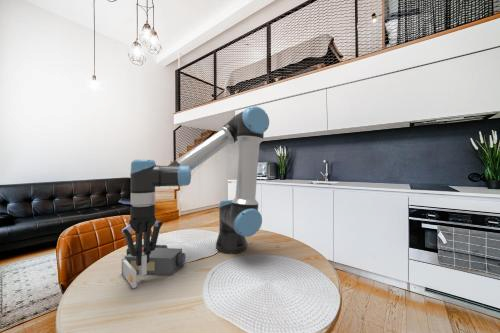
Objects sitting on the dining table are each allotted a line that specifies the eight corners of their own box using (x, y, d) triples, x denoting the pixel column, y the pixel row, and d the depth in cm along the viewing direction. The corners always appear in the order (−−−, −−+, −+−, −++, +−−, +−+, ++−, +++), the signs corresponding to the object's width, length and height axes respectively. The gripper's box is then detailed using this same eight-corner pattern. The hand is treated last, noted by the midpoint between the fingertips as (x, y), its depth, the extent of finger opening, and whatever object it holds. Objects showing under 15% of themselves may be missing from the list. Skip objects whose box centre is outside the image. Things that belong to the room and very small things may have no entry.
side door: (137, 287, 65) (137, 270, 65) (130, 289, 64) (130, 272, 64) (125, 272, 74) (125, 257, 74) (119, 274, 73) (120, 259, 73)
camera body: (187, 263, 82) (187, 246, 82) (177, 275, 73) (177, 256, 73) (139, 261, 83) (139, 245, 83) (124, 273, 74) (124, 254, 74)
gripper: (156, 201, 77) (156, 263, 77) (117, 205, 67) (117, 277, 67) (166, 203, 72) (166, 270, 72) (125, 208, 62) (125, 286, 62)
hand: (142, 273), depth 69 cm, fingers closed
